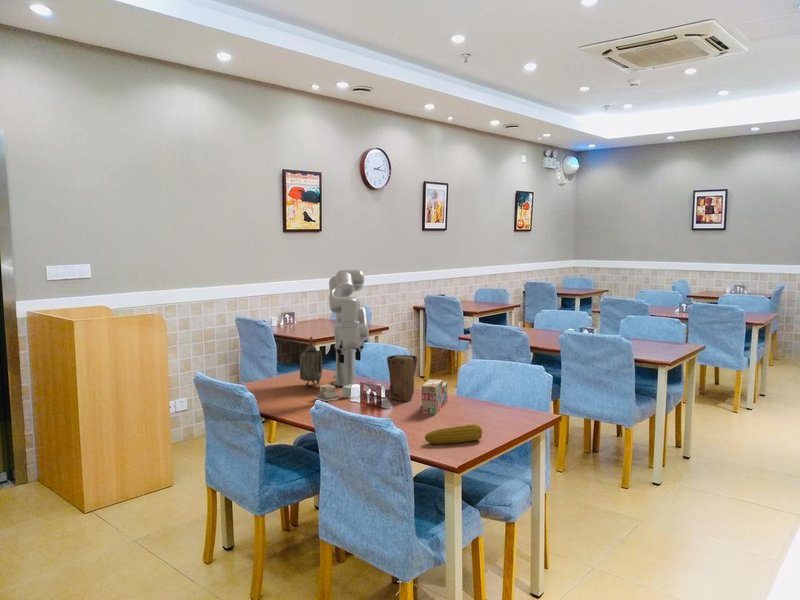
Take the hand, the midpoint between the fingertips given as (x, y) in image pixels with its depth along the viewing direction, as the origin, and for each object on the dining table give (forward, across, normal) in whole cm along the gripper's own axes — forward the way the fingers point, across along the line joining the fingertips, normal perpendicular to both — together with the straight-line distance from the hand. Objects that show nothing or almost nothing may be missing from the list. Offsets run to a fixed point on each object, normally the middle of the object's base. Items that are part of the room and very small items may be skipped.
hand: (349, 361), depth 271 cm
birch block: (+16, +10, -4) cm, 19 cm away
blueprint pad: (+17, +10, -4) cm, 20 cm away
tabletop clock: (+17, +1, -30) cm, 35 cm away
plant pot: (+17, -27, +6) cm, 33 cm away
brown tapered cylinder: (+17, -14, +20) cm, 30 cm away
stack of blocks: (+18, -15, +40) cm, 46 cm away
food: (+18, +13, +76) cm, 79 cm away
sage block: (+17, 0, 0) cm, 17 cm away
